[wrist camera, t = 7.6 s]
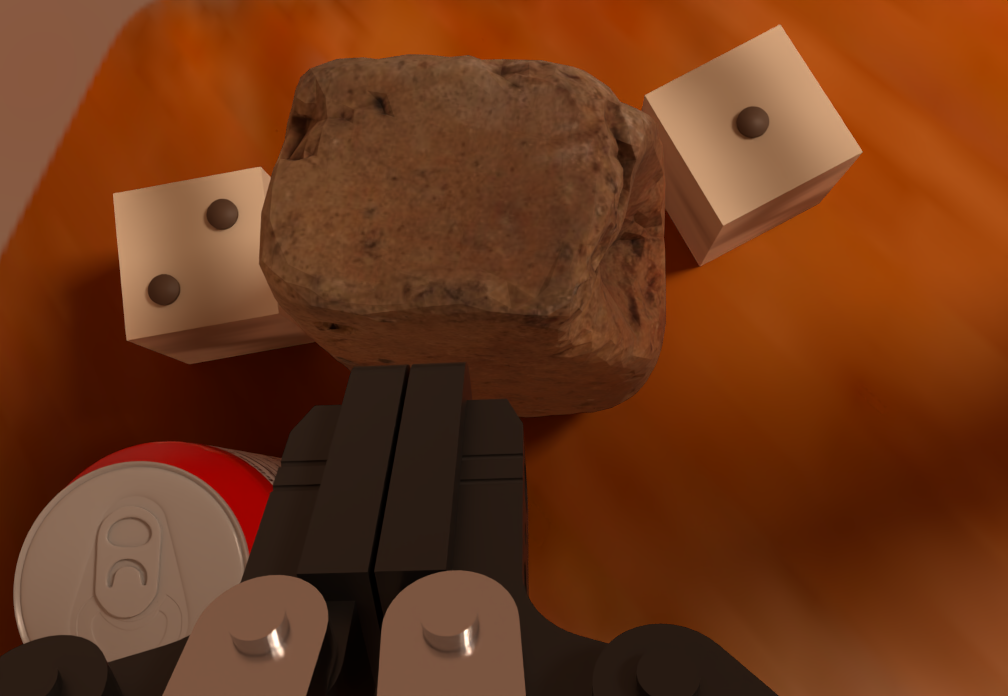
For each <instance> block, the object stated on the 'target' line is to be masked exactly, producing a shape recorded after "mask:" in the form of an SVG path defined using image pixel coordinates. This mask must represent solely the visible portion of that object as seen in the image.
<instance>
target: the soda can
mask: <svg viewBox="0 0 1008 696" xmlns="http://www.w3.org/2000/svg"><path fill="white" fill-rule="evenodd" d="M281 459H282V458H279V457H273V456H268V455H262V454H256V453H250V452H244V451H239V450H233V449H227V448H221V447H215V446H210V445H204V444H198V443H191V442H182V441H156V442H149V443H143V444H139V445H135V446H131V447H128V448H124V449H122V450H119V451H116V452H114V453H112V454H109V455H107V456H105V457H103V458H102V459H100V460H98V461H96V462H95V463H93V464H92V465H90V466H89V467H87V468H86V469H85V470H83V471H82V472H81V473H80V474H78V475H77V476H76V477H75V478H74V479H73V480H72V481H71V482H70V483H69V484H68V485H67V486H66V487H65V488H64V489H63V490H62V491H61V492H59V493H58V494H57V495H56V496H55V497H54V498H53V499H52V500H51V501H50V502H49V503H48V504H47V506H46V507H45V508H44V509H43V510H42V512H41V513H40V514H39V516H38V517H37V519H36V520H35V522H34V523H33V525H32V527H31V529H30V530H29V532H28V534H27V536H26V538H25V541H24V543H23V546H22V548H21V551H20V554H19V558H18V561H17V566H16V571H15V577H14V589H13V600H14V611H15V618H16V623H17V627H18V630H19V633H20V636H21V639H22V642H23V644H25V643H27V642H30V641H33V640H35V639H39V638H43V637H47V636H55V635H73V636H79V637H83V638H85V639H87V640H90V641H91V642H93V643H94V644H96V645H97V646H98V647H99V648H100V650H101V651H102V652H103V654H104V656H105V658H106V660H107V662H110V661H114V660H117V659H120V658H124V657H127V656H130V655H134V654H137V653H141V652H144V651H147V650H151V649H154V648H157V647H161V646H164V645H167V644H170V643H173V642H175V641H178V640H180V639H182V638H184V637H187V636H189V635H190V634H191V632H192V630H193V627H194V625H195V623H196V622H197V620H198V618H199V616H200V615H201V614H202V612H203V611H204V610H205V608H206V607H207V606H208V605H209V604H210V603H211V602H212V601H213V600H214V599H215V598H217V597H218V596H219V595H221V594H222V593H223V592H225V591H226V590H228V589H230V588H232V587H233V586H235V585H237V584H240V582H241V579H242V576H243V573H244V570H245V567H246V564H247V561H248V558H249V555H250V552H251V549H252V546H253V543H254V540H255V537H256V534H257V531H258V528H259V525H260V522H261V519H262V516H263V513H264V510H265V507H266V504H267V501H268V498H269V495H270V492H273V483H274V480H275V477H276V474H277V471H278V468H279V467H281Z"/></svg>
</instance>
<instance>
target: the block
mask: <svg viewBox="0 0 1008 696" xmlns="http://www.w3.org/2000/svg"><path fill="white" fill-rule="evenodd" d="M664 226H665V176H664V157H663V144H662V142H661V140H660V138H659V133H658V125H657V123H656V122H655V121H654V120H653V119H652V118H651V117H650V116H649V115H648V114H646V113H644V112H642V111H640V110H638V109H636V108H634V107H632V106H629V105H627V104H624V103H622V102H620V101H619V100H618V98H617V97H616V96H615V94H614V93H613V92H612V90H611V89H610V88H609V87H608V86H607V85H605V84H604V83H602V82H601V81H599V80H598V79H596V78H595V77H593V76H592V75H590V74H589V73H587V72H586V71H584V70H581V69H578V68H575V67H571V66H567V65H562V64H557V63H552V62H547V61H542V60H508V59H498V60H481V59H478V58H475V57H472V56H469V55H467V56H457V57H443V56H433V55H401V56H395V57H389V58H383V59H371V58H345V59H336V60H333V61H330V62H327V63H324V64H321V65H319V66H316V67H313V68H311V69H309V70H308V71H307V72H306V73H305V74H304V75H303V76H302V77H301V78H300V80H299V83H298V85H297V88H296V90H295V95H294V100H293V104H292V109H291V112H290V116H289V119H288V123H287V129H286V136H285V141H284V144H283V147H282V149H281V152H280V155H279V157H278V160H277V163H276V165H275V167H274V169H273V172H272V176H271V179H270V183H269V186H268V190H267V193H266V197H265V201H264V204H263V208H262V211H261V227H260V249H259V265H260V268H261V270H262V272H263V274H264V276H265V278H266V281H267V283H268V285H269V287H270V289H271V292H272V294H273V296H274V298H275V299H276V301H277V302H278V303H279V305H280V306H281V308H282V309H283V310H284V311H285V312H286V313H287V314H288V315H290V316H291V317H292V318H293V319H294V320H295V322H296V323H297V324H298V325H299V327H300V328H301V329H302V330H303V331H304V332H305V334H307V335H308V336H310V337H311V338H313V339H314V340H315V341H316V342H317V344H318V345H319V346H321V347H322V348H323V349H325V350H326V351H327V352H329V353H330V354H331V355H332V356H333V357H334V358H335V359H336V360H337V361H338V362H340V363H342V364H343V365H345V366H346V367H347V368H348V369H349V370H350V371H351V370H352V368H353V367H354V366H380V365H407V364H409V365H410V367H411V366H412V364H427V363H454V362H467V363H468V367H469V373H470V382H471V392H472V400H485V399H508V401H509V403H510V404H511V406H512V407H513V409H514V410H515V412H516V414H517V415H518V417H541V416H549V415H565V414H575V413H580V412H590V413H591V412H596V411H600V410H604V409H608V408H612V407H614V406H616V405H618V404H620V403H622V402H624V401H625V400H627V399H629V398H630V397H632V396H633V395H634V394H636V393H637V392H638V391H639V389H640V388H641V387H642V386H643V385H644V384H645V382H646V381H647V379H648V377H649V375H650V374H651V372H652V370H653V369H654V367H655V365H656V363H657V360H658V357H659V354H660V351H661V347H662V343H663V337H664V331H665V324H666V276H665V243H664Z"/></svg>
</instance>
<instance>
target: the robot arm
mask: <svg viewBox="0 0 1008 696" xmlns="http://www.w3.org/2000/svg"><path fill="white" fill-rule="evenodd" d="M0 696H778V695H777V694H776V693H775V692H774V691H772V690H771V689H770V688H769V687H768V686H766V685H765V684H764V683H763V682H762V681H761V680H759V679H758V678H757V677H756V676H755V675H754V674H752V673H751V672H750V671H749V670H748V669H746V668H745V667H744V666H743V665H742V664H741V663H739V662H738V661H737V660H736V659H735V658H734V657H732V656H731V655H730V654H729V653H728V652H727V651H725V650H724V649H723V648H722V647H721V646H719V645H718V644H717V643H715V642H714V641H713V640H711V639H710V638H708V637H707V636H705V635H703V634H701V633H699V632H697V631H694V630H692V629H689V628H686V627H682V626H677V625H671V624H649V625H644V626H640V627H636V628H633V629H631V630H628V631H626V632H624V633H622V634H621V635H619V636H617V637H616V638H615V639H613V640H612V641H611V642H610V643H609V644H608V643H604V642H601V641H597V640H593V639H590V638H586V637H582V636H579V635H576V634H573V633H570V632H567V631H565V630H563V629H561V628H559V627H557V626H556V625H554V624H553V623H551V622H550V621H548V620H547V619H546V618H545V617H544V616H543V615H541V614H540V613H539V612H538V611H537V609H536V608H535V607H534V605H533V604H532V603H531V601H530V599H529V596H528V497H527V481H526V464H525V448H524V432H523V423H522V421H521V420H520V418H519V417H518V415H517V414H516V412H515V410H514V409H513V407H512V406H511V404H510V403H509V401H508V399H485V400H472V392H471V382H470V373H469V367H468V363H467V362H454V363H427V364H412V366H411V367H410V365H409V364H407V365H380V366H354V367H353V368H352V370H351V373H350V377H349V381H348V384H347V388H346V392H345V395H344V399H343V403H342V405H321V406H314V407H313V408H312V409H311V410H310V411H309V412H308V413H307V414H306V416H305V417H304V418H303V419H302V420H301V421H300V422H299V423H298V424H297V425H296V426H295V427H294V429H293V430H292V431H291V432H290V435H289V438H288V441H287V444H286V447H285V450H284V453H283V456H282V459H281V467H279V468H278V471H277V474H276V477H275V480H274V483H273V492H270V495H269V498H268V501H267V504H266V507H265V510H264V513H263V516H262V519H261V522H260V525H259V528H258V531H257V534H256V537H255V540H254V543H253V546H252V549H251V552H250V555H249V558H248V561H247V564H246V567H245V570H244V573H243V576H242V579H241V582H240V584H237V585H235V586H233V587H232V588H230V589H228V590H226V591H225V592H223V593H222V594H221V595H219V596H218V597H217V598H215V599H214V600H213V601H212V602H211V603H210V604H209V605H208V606H207V607H206V608H205V610H204V611H203V612H202V614H201V615H200V616H199V618H198V620H197V622H196V623H195V625H194V627H193V630H192V632H191V634H190V635H189V636H187V637H184V638H182V639H180V640H178V641H175V642H173V643H170V644H167V645H164V646H161V647H157V648H154V649H151V650H147V651H144V652H141V653H137V654H134V655H130V656H127V657H124V658H120V659H117V660H114V661H110V662H107V660H106V658H105V656H104V654H103V652H102V651H101V650H100V648H99V647H98V646H97V645H96V644H94V643H93V642H91V641H90V640H87V639H85V638H83V637H79V636H73V635H55V636H47V637H43V638H39V639H35V640H33V641H30V642H27V643H25V644H22V645H20V646H18V647H16V648H14V649H12V650H10V651H9V652H7V653H5V654H4V655H2V656H1V657H0Z"/></svg>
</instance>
